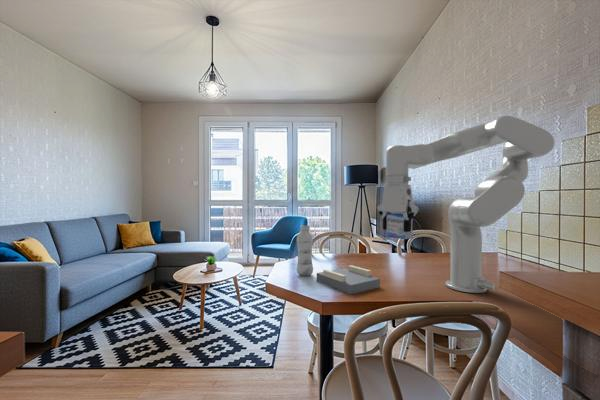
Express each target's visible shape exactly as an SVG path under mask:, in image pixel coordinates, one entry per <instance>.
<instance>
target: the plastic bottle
mask: <svg viewBox="0 0 600 400" xmlns="http://www.w3.org/2000/svg"><path fill="white" fill-rule="evenodd" d="M310 228H311V226H310V225H303V224H302V225H300V228H299V229H300V232H299V233H298V235H297V236H296V245H297V246H296V247H297V264H296V273H297V275H298V276H302V277H307V276H308V277H309V276H312V275H313V272H314V265H313V259H312V258H313V257H312V251H313V242H314V239H313V236H312V234H311V232H310V230H311V229H310Z"/></svg>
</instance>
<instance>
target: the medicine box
mask: <svg viewBox="0 0 600 400" xmlns="http://www.w3.org/2000/svg"><path fill="white" fill-rule="evenodd" d="M407 215H408V214H407ZM404 220H405V218H404V216H403V214H402V213H387V229H386V237H387V238H393V239H400V240H401V239H402V240H410V239H413V220H411V231H410V232H404V231H403V230H404Z"/></svg>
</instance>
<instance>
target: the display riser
mask: <svg viewBox="0 0 600 400" xmlns="http://www.w3.org/2000/svg"><path fill="white" fill-rule="evenodd" d="M380 280H381V279H380V278H378V277H376V276H372V270H371V269H366V268H362V267H359V266H356V265H352V264H351V265H348V268H339V269H338V268H337V269H332V270H330V269H327V268H326V269H323V271H321V272H316V282H318V283H320V284H323V285H326V286H328V287H329V288H330V287H331V288H333V289H335V290H336V289H337V290H338V291H341V292H344V293H347V294H349V295H353V294H359V293H361V292H366V291H369V290H370V291H371V290H374V289H378V288H380V284H381V281H380Z"/></svg>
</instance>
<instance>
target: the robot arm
mask: <svg viewBox="0 0 600 400" xmlns="http://www.w3.org/2000/svg"><path fill="white" fill-rule="evenodd" d="M503 143H505V144H504V145H503V147H502V153H501V155H502V164H501V165H500V167H498V168H497V169H496V170H495V171H493V173H491V174H490V175H489V176H488V177H486V178H485V179H483V181H481V182H480V183H479V184H478V185H477V186H476V187H475V190H474V192H473V194H474V197H471V196H470V197H460V198H457V199H454V200H453V201H452V202H451V203H450V205H449V207H448V212H447V213H448V223H449V228H450V262H449V265H450V267H449V270H450V273H449V274H450V275H449V276H450V277H449V278H450V279H448V280H446V281H445V286H446V287H447V288H449V289H451V290H453V291H454V290H455V291H459V292H464V293H470V294H471V293H472V294H483V293H486V292H487V291H488V290H495V288H496V285H495V283H494V282H492V281H487V280H486V279H485V278H486V277H485V276H484V275H483V273H482V269H483V268H482V264H483V261H482V260H483V259H482V258H483V257H482V256H483V237H482V235H483V234H482V231H481V228H485V227H489V226H491V225H493V224H495V223H496V222H497V221H498V220H500V219H501V218H502V217H504V216H505V215H506V214H508V213H509V212H510V211H511V210H513V209H515V207H516V206H518V204H520V203H521V202H522V200H523V199H524V196H525V194H526V193H525V192H526V191H525V185H524V181H526V179H527V177H528V175H529V163H528V160H529V159H534V158H540V157H543V156H545V155H548V154H549V153H550V152H552V150H553V149H554V146H555V143H556V142H555V139H554V136H553V134H552V133H550V131H548V130H547V129H545V128H542V127H539V125H538V126H537V125H536V124H532V123H531V122H529V121H526V120H523V119H521V118H518V117H516V116H512V115H502V116H499V117H496V118H494V119H492V120H489V121H488V122H483V123H481V124H478V125H475V126H471V127H469V128H465V129H462V130H459V131H456V132H453V133H450V134H447V135H445V136H444V137H441V138H440V139H437V140H434V141H432V142H430V143H427V144H424V143H423V144H422V143H421V144H414V145H412V144H411V145H401V144H395V145H390V146H388V148H387V147H386V151H385V152H386V153H385V154H386V155H385V159H386V160H385V185H384V187H383V193H382V202H381V203H380V204H378V205H377V207H376V209H377V210H378V214H379V215H380V218H381V219H382V230H386V231H387V213H401V214H403V216H404V218H405V220H404V230H403V231H404V232H410V231H411V220H412V221H413V220H414V218H415V217H416V215H417V214H418V212H419V211H420V208H419V207H418V206H417V205H416V204H414V199H413V191H412V186H411V184H409V182H410V181H411V180H412V177H411V176H409V169H411V170H412V169H413V170H415V169H419V168H422V167H425V166H428V165H430V164H435V163H438V162H441V161H445V160H450V159H456V158H458V157H462V156H465V155H469V154H472V153H474V152H477V151H482V150H484V149H487V148H490V147H494V146H496V145H500V144H503ZM407 214H408V215H407Z"/></svg>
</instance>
